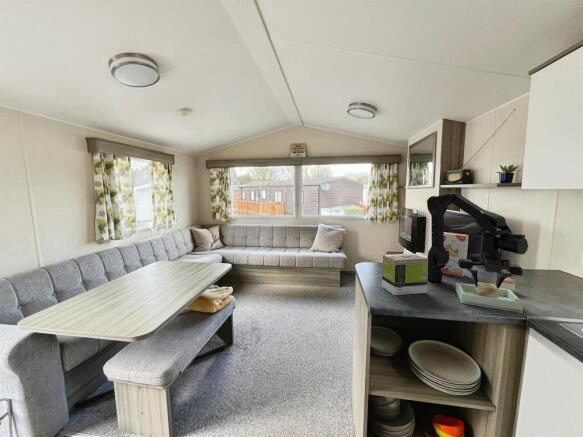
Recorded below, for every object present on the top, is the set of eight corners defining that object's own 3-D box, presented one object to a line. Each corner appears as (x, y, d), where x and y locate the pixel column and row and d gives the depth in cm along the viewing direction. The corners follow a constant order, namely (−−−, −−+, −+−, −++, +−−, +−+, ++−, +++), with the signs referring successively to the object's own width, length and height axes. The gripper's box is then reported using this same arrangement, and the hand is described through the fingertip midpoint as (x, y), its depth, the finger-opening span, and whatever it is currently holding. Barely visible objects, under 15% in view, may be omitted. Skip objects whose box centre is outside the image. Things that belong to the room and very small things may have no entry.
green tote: (461, 302, 96) (461, 294, 95) (455, 290, 108) (456, 282, 108) (522, 313, 88) (523, 303, 88) (509, 298, 101) (510, 289, 100)
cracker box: (431, 271, 135) (434, 232, 133) (435, 269, 139) (438, 231, 137) (462, 278, 125) (465, 235, 122) (465, 275, 129) (469, 234, 127)
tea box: (411, 285, 114) (413, 252, 113) (427, 293, 104) (429, 258, 103) (380, 286, 112) (382, 253, 110) (393, 296, 102) (395, 259, 100)
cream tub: (498, 292, 107) (499, 280, 106) (494, 287, 112) (495, 276, 112) (516, 294, 104) (517, 282, 104) (511, 289, 110) (512, 278, 109)
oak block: (477, 299, 97) (478, 286, 96) (474, 293, 102) (475, 281, 102) (497, 302, 94) (498, 289, 94) (492, 296, 100) (494, 284, 99)
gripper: (464, 249, 93) (461, 291, 95) (531, 256, 85) (526, 301, 87) (459, 244, 103) (456, 281, 105) (519, 249, 95) (514, 289, 97)
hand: (486, 288), depth 98 cm, fingers closed on oak block, 6 cm apart
